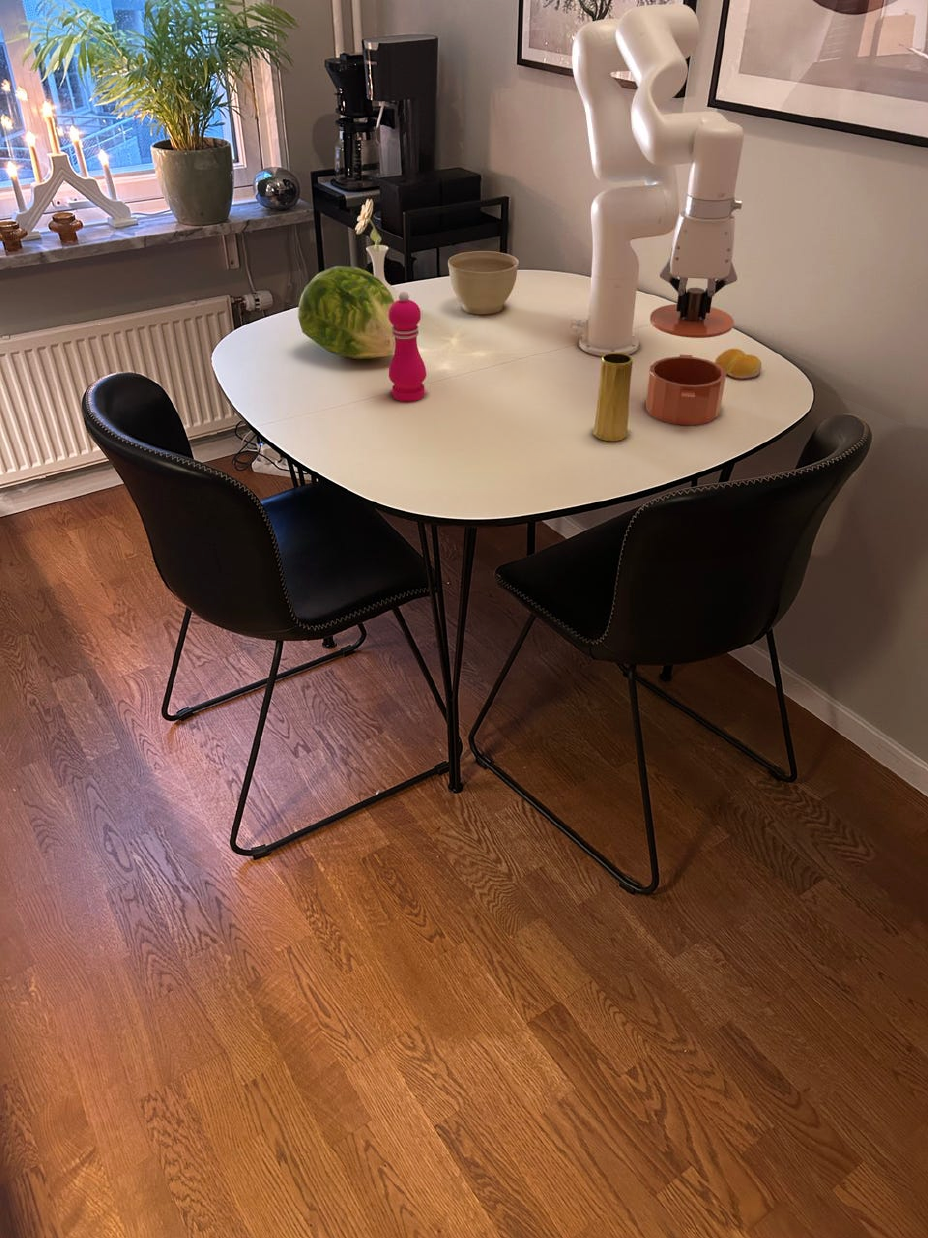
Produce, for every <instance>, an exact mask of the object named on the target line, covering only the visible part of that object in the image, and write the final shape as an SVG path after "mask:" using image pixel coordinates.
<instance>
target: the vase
mask: <svg viewBox="0 0 928 1238" xmlns="http://www.w3.org/2000/svg"><path fill="white" fill-rule="evenodd" d="M633 364H634V361H633V357H632V356H631V354H625V353H619V352H613V353H607V354H605V355H603V356H601V368H600V377H599V385H598V394H597V402H596V412H595V419H594V428H593V431H592V432H593V435H594V437H596V438H597V439H598V440H602V441H605V442H619V441H622V440H624V439H626V438H627V437H628V433H629V432H628V425H629V412H630V411H629V409H630V408H629V407H630V392H631V380H632V370H633Z"/></svg>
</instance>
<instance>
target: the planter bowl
mask: <svg viewBox="0 0 928 1238" xmlns="http://www.w3.org/2000/svg"><path fill="white" fill-rule="evenodd" d="M519 263H520V262H519V259H518V258H516V257H515V256H513V255H511V254H508V253H504V252H499V251H489V250H480V251H466V252H460V253H458V254H455V255H453V256H451V257H449V259H448V260H447V266H448V273H449V279H450V283H451V287H452V289H453V292H454V294H455V296H456V297H457V299H458V301H459V302H460V303H461V306H462V310H464V311H465V312H468V313H471V314H475V315H490V314H491V315H492V314H495V313H498V312H500V311H501V310H503V308H504V305H505V303H506V301H507V300H508V299H509V297H510V296H511V294H512V292H513V290H514V287H515V285H516V281H517V276H518V268H519Z"/></svg>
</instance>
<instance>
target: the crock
mask: <svg viewBox="0 0 928 1238" xmlns="http://www.w3.org/2000/svg"><path fill="white" fill-rule="evenodd" d="M726 378H727V374H726V373H725V370H724V369H723V368H722V367H721V366H720V365H719V364H716V363H715V361H711V360H710V359H705V358H700V357H696V356H693V354H679V355H678V356H670V357H665V358H662V359H658V360H655V361H654V362H653V363H652V364H651V365H650V366H649V375H648V383H647V391H646V400H645V410H646V412H647V413H648V414H649V415H650V416H652V417H653V418H655V419H657V420H659V421H662V422H663V423H669V424H673V425H679V426H696V425H703V424H706V423H709V422H712V421H714V420H715V419H716V418H718V416H719V414H720V412H721V408H722V402H723V395H724V391H725V385H726Z"/></svg>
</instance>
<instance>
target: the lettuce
mask: <svg viewBox="0 0 928 1238" xmlns="http://www.w3.org/2000/svg"><path fill="white" fill-rule="evenodd" d="M393 303H394V299H393V297H392V295H391V293H390V292H389V290H388V289H387V288H386V286H385V285H384V284H383V283H382V282H381V281H380V280H379V279H378V278H376V277H375V276H374V273H372V272H371V273H370V272H369V271H368V270H365V269H362V268H360V267H357V266H347V265H346V266H345V265H335V266H333V267H330V268H327V269H325V270H323V271H320V272H319V273H317V274H316V275H315V276H314V277H313V278H312V279H311V280H310V282H309V283H308V284H307V285H305V287H304V289H303V291H302V293H301V295H300V298H299V302H298V308H297V319H298V322H299V326H300V329H301V332H302V333H303V334H304V335H305V336H306V337H307V338H309V339H310V340H312V341H313V342H315V343H316V344H317V345H319V346H320V347H321V348H323V349H324V350H325V351H328V352H330V353H331V354H334V355H338V356H341V357H344V358H348V359H351V360H367V359H368V360H369V359H370V360H371V359H375V358H382V357H388V356H391V355H392V354H393V355H394V352H395V337H394V336H393V335H392V332H393V331H392V327H393V325H392V324H391V322H390V321H389V317H388V312H389V308H390V306H391V305H392V304H393Z"/></svg>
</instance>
